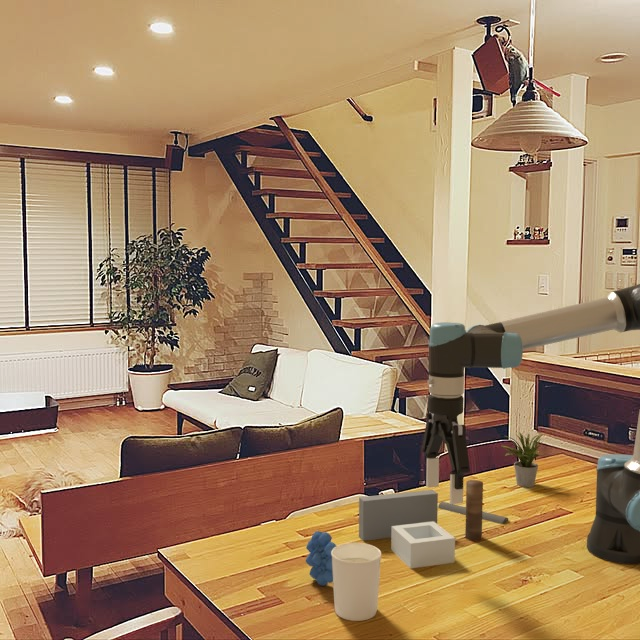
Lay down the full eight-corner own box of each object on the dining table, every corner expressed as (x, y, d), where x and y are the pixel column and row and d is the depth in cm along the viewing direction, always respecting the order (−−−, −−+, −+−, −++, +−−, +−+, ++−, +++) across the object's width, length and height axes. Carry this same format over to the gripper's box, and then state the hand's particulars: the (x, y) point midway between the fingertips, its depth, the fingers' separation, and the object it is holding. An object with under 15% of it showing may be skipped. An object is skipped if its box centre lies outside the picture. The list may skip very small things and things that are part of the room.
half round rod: (502, 526, 193) (502, 520, 193) (437, 510, 205) (437, 503, 205) (509, 522, 196) (509, 515, 196) (444, 505, 209) (444, 499, 208)
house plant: (521, 473, 237) (522, 423, 236) (559, 484, 227) (561, 431, 225) (493, 482, 228) (494, 430, 227) (531, 493, 218) (533, 439, 216)
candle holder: (377, 599, 151) (378, 542, 150) (383, 623, 142) (384, 562, 140) (329, 599, 151) (330, 542, 150) (332, 623, 141) (332, 562, 140)
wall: (437, 531, 188) (437, 493, 187) (363, 540, 182) (363, 501, 181) (431, 527, 191) (432, 489, 190) (358, 536, 185) (359, 497, 184)
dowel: (484, 539, 183) (486, 484, 182) (470, 541, 182) (471, 485, 180) (476, 533, 187) (477, 479, 185) (462, 535, 185) (463, 480, 184)
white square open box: (454, 563, 169) (455, 538, 169) (410, 569, 166) (410, 543, 165) (433, 545, 180) (433, 521, 179) (391, 550, 176) (391, 526, 176)
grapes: (354, 591, 155) (354, 535, 154) (325, 598, 151) (326, 542, 150) (325, 570, 165) (326, 518, 164) (299, 577, 161) (299, 523, 160)
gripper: (407, 386, 169) (406, 480, 171) (455, 406, 147) (453, 514, 149) (437, 384, 172) (435, 477, 174) (489, 404, 149) (486, 510, 151)
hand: (443, 494), depth 161 cm, fingers open, 11 cm apart
